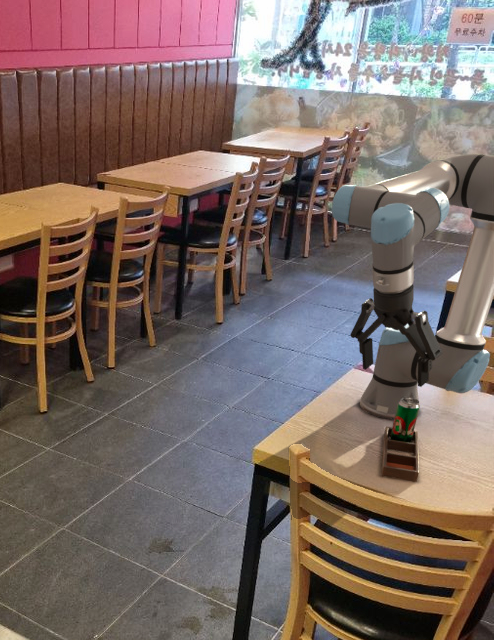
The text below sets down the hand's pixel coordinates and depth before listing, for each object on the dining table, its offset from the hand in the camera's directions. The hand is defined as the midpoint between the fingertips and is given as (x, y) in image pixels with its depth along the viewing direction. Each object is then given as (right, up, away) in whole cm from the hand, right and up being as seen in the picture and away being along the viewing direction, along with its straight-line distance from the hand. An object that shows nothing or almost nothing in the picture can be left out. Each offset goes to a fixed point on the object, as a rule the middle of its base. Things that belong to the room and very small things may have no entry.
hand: (394, 374), depth 160 cm
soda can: (+10, -14, +25) cm, 30 cm away
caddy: (+8, -17, +19) cm, 27 cm away
